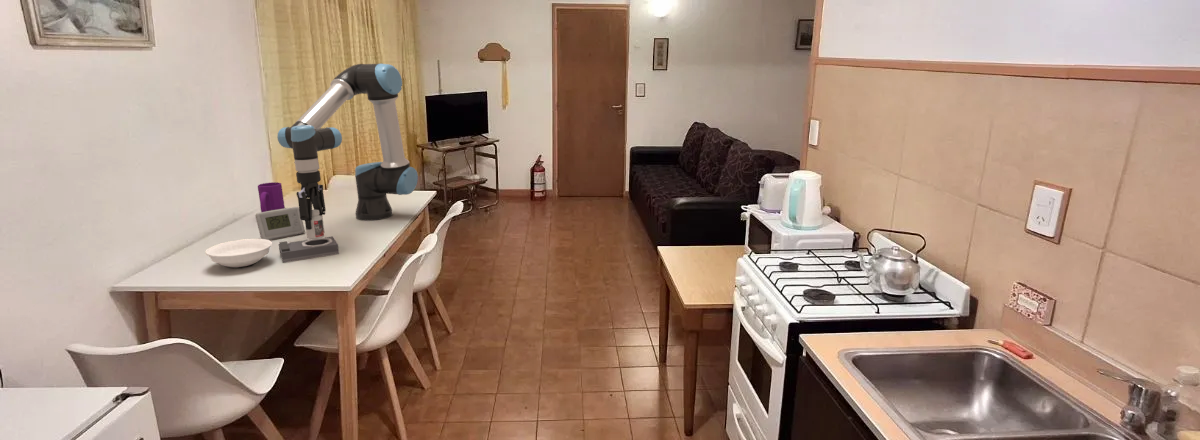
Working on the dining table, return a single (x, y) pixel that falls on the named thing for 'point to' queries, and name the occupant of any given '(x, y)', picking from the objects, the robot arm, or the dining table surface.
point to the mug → (271, 196)
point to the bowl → (239, 252)
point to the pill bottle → (317, 224)
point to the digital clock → (279, 223)
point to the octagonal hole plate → (308, 249)
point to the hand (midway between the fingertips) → (316, 235)
